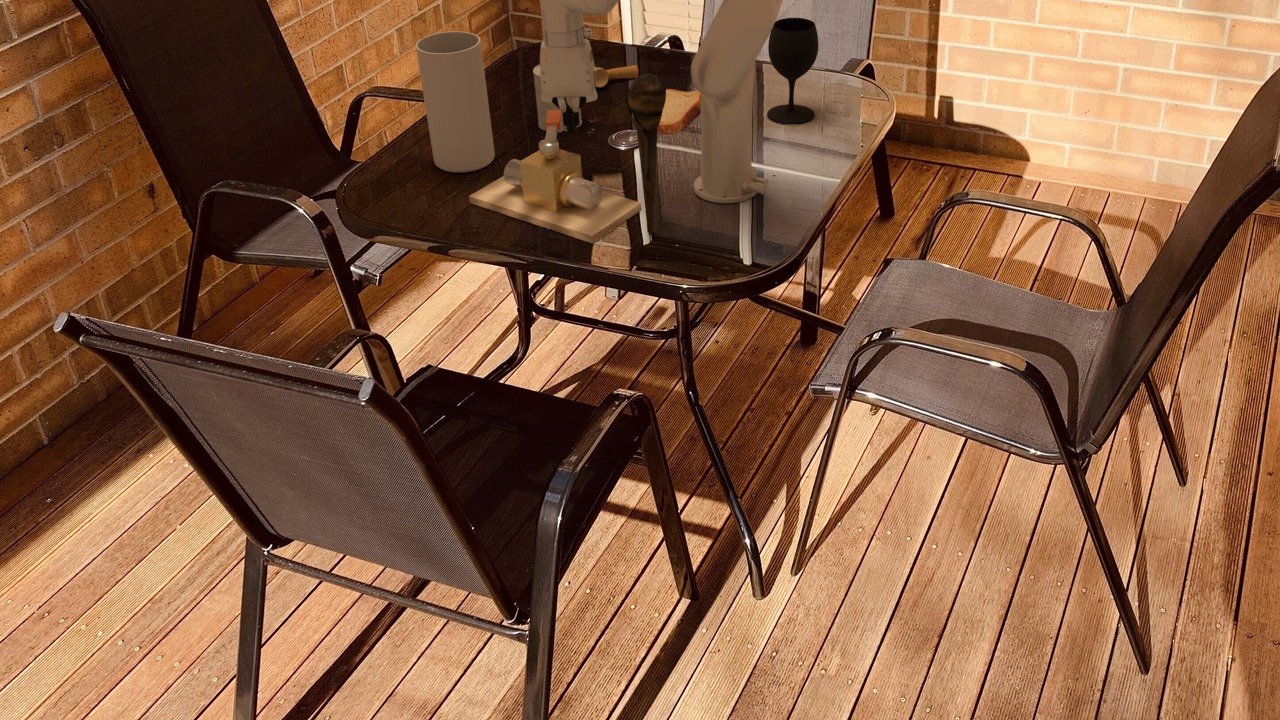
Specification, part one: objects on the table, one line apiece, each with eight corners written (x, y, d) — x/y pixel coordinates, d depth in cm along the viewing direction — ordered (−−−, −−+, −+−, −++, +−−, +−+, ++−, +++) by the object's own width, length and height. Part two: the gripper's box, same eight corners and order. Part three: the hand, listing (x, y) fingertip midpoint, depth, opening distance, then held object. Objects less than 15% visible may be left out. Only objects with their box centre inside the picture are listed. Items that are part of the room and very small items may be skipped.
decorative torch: (631, 226, 208) (623, 69, 191) (668, 223, 209) (663, 65, 192) (634, 244, 203) (626, 84, 186) (672, 241, 203) (668, 80, 186)
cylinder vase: (461, 179, 227) (444, 58, 213) (422, 163, 234) (402, 45, 220) (507, 158, 235) (493, 39, 220) (468, 142, 242) (451, 27, 227)
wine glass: (824, 116, 245) (830, 25, 234) (788, 129, 241) (791, 36, 229) (793, 102, 252) (796, 12, 241) (756, 114, 248) (758, 23, 236)
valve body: (608, 203, 213) (605, 157, 207) (582, 221, 208) (578, 173, 202) (527, 179, 223) (522, 134, 217) (500, 195, 218) (494, 149, 212)
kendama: (626, 76, 273) (557, 82, 265) (630, 52, 269) (560, 57, 261) (640, 92, 268) (571, 98, 260) (644, 68, 264) (574, 73, 256)
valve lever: (558, 155, 208) (557, 146, 207) (538, 156, 208) (538, 147, 207) (564, 118, 222) (563, 109, 221) (546, 119, 222) (545, 110, 221)
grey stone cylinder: (576, 133, 244) (571, 78, 237) (533, 131, 245) (527, 76, 238) (586, 115, 251) (582, 61, 244) (544, 113, 253) (539, 60, 246)
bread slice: (662, 139, 240) (662, 122, 238) (622, 111, 253) (621, 95, 251) (734, 119, 247) (734, 103, 245) (691, 93, 260) (690, 77, 258)
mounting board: (641, 209, 214) (641, 202, 213) (592, 243, 204) (592, 236, 203) (520, 173, 229) (520, 166, 228) (469, 202, 219) (468, 196, 218)
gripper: (606, 28, 211) (612, 120, 222) (527, 30, 213) (536, 122, 223) (602, 42, 205) (608, 136, 216) (520, 44, 207) (531, 137, 217)
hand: (572, 129), depth 220 cm, fingers closed
